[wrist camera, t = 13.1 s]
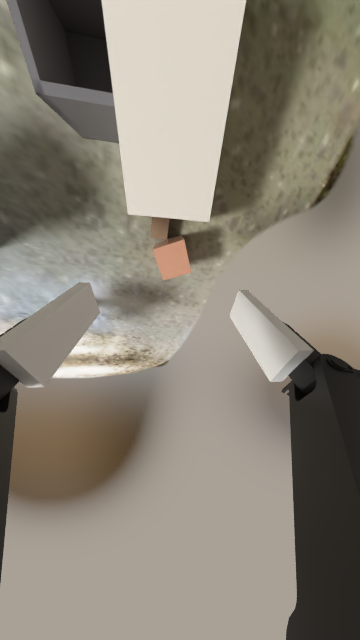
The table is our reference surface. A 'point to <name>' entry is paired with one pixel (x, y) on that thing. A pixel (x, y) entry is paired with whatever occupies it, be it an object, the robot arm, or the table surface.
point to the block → (172, 257)
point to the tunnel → (140, 87)
